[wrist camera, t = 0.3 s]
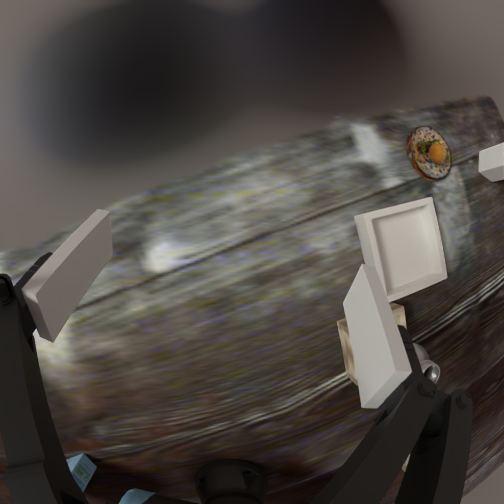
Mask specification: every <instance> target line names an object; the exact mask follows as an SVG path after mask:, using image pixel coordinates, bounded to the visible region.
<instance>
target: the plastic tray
mask: <svg viewBox="0 0 504 504" xmlns="http://www.w3.org/2000/svg"><path fill="white" fill-rule="evenodd" d="M354 219H355V223H356V227H357V231H358V235H359V239H360V243H361V248H362V252H363V257H364V261H365V265H370V266H374V267H375V268H376V271H377V273H378V276H379V278H380V281H381V283H382V286H383V288H384V291H385V293H386V296H387V299H388V301H389V302H392V301H394V300H397V299H399V298H402V297H404V296H407V295H409V294H412V293H414V292H417V291H419V290H421V289H424V288H426V287H428V286H431V285H433V284H435V283H437V282H440V281H442V280H444V279H446V278H447V271H446V264H445V258H444V252H443V246H442V241H441V236H440V231H439V226H438V221H437V217H436V213H435V208H434V204H433V200H432V197H429V198H425V199H420V200H416V201H412V202H408V203H404V204H400V205H396V206H392V207H388V208H384V209H380V210H376V211H372V212H369V213H365V214H361V215H357V216H354Z"/></svg>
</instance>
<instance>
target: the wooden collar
mask: <svg viewBox="0 0 504 504" xmlns="http://www.w3.org/2000/svg"><path fill="white" fill-rule="evenodd" d="M389 304H390V307H391V310H392V312H393V315H394V318H395V321H396V324H397V325H403V326H404V327H405V328H406V320H405V312H404V306H402V305H399V304H395V303H392V302H389ZM337 325H338V330H339V335H340V340H341V345H342V350H343V356H344V361H345V367H346V373H347V376H348V377H349V378H350V379H351V380H352V381H353V382H354V383H355V384H356V385H358V380H357V374H356V368H355V362H354V356H353V351H352V345H351V340H350V335H349V330H348V325H347V320H346V318H345V319H342V320H339V321H337ZM406 329H407V328H406Z"/></svg>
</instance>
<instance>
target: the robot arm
mask: <svg viewBox="0 0 504 504" xmlns="http://www.w3.org/2000/svg"><path fill="white" fill-rule="evenodd" d="M112 256H113V252H112V238H111V220H110V211H104V210H99V209H98V210H97V211H95V212H94V213H93V214H92V215H91V216H90V217H89V218H88V219H87V220H86V221H85V222H84V223H83V224H82V225H81V226H80V227H79V228H78V229H77V230H76V231H75V232H74V233H73V234H72V235H71V236H70V237H69V238H68V239H67V240H66V241H65V242H64V243H63V244H62V245H61V246H60V247H59V248H58V249H57V250H56V251H55V252H54V253H50V252H49V253H47V254H45V255H43V256H42V257H40V258H39V259H38V260H37V261H36V262H35V263H34V266H32V267H31V268H30V269H29V271H27V272H26V273H25V274H24V275H23V277H22V278H21V279H20V280H19V281H18V282H17V283H16V285H15V286H14V287H13V284H12V281H11V278H10V277H9V276H8V275H7V274H0V431H1V435H2V440H3V444H4V448H5V452H6V456H7V460H8V467H7V468H6V469H5V478H6V482H7V485H8V488H9V491H10V494H11V497H12V500H13V503H14V504H89V503H88V501H87V499H86V497H85V495H84V493H83V492H82V490H81V488H80V487H79V485H78V484H77V483H76V481H75V479H74V478H73V476H72V473H71V471H70V468H69V466H68V463H67V461H66V458H65V456H64V453H63V450H62V447H61V445H60V442H59V439H58V436H57V433H56V430H55V427H54V423H53V420H52V417H51V413H50V410H49V406H48V402H47V398H46V394H45V390H44V386H43V382H42V377H41V373H40V368H39V363H38V357H37V352H36V346H35V339H34V336H33V332H34V331H35V329H36V328H37V331H38V333H39V335H40V337H41V338H44V339H46V340H48V341H51V342H54V341H55V339H56V337H57V336H58V334H59V333H60V331H61V329H62V328H63V326H64V325H65V323H66V322H67V320H68V318H69V317H70V315H71V314H72V312H73V311H74V309H75V308H76V306H77V305H78V303H79V302H80V300H81V299H82V297H83V296H84V295H85V293H86V292H87V290H88V289H89V287H90V286H91V284H92V283H93V282H94V280H95V279H96V277H97V276H98V275H99V273H100V272H101V271H102V269H103V268H104V266H105V265H106V264H107V262H108V261H109V260H110V258H111V257H112ZM343 306H344V310H345V315H346V320H347V325H348V330H349V335H350V340H351V345H352V351H353V356H354V362H355V368H356V374H357V380H358V386H359V392H360V399H361V406H362V408H378V407H379V406H380V405H381V404H382V403H383V402H385V407H386V409H385V410H384V411H383V412H382V413H380V414H379V415H378V416H377V417H376V418H375V419H374V421H376V422H375V423H374V425H373V426H372V427H371V429H370V430H369V432H368V433H367V434H366V436H365V437H364V439H363V440H362V441H361V443H360V444H359V445H358V447H357V448H356V449H355V451H354V452H353V453H352V454H351V456H350V457H349V458H348V459H347V461H346V462H345V463H344V464H343V466H342V467H341V468H340V469H339V470H338V472H337V473H336V474H335V475H334V476H333V478H332V479H331V480H330V481H329V482H328V483H327V484H326V486H325V487H324V488H323V489H322V490H321V491H320V492H319V493H318V494H317V495H316V496H315V498H314V499H313V500H312V501H311V502H310V503H309V504H379V503H380V501H381V500H382V498H383V497H384V495H385V494H386V492H387V491H388V489H389V488H390V486H391V485H392V483H393V482H394V480H395V478H396V477H397V475H398V473H399V472H400V470H401V468H402V467H403V465H404V463H405V462H406V460H407V458H408V456H409V454H410V457H409V460H408V464H407V467H406V471H405V474H404V477H403V480H402V483H401V486H400V489H399V492H398V495H397V498H396V501H395V503H394V504H460V502H461V498H462V493H463V488H464V483H465V477H466V471H467V465H468V458H469V450H470V441H471V430H472V416H473V402H472V399H471V397H470V395H469V394H468V393H467V392H466V391H464V390H462V389H456V390H455V391H454V392H453V393H452V394H450V395H449V394H446V393H443V392H440V391H438V390H437V387H436V385H435V384H434V382H433V381H432V380H431V379H429V378H427V377H424V374H423V371H422V368H421V365H420V362H419V359H418V356H417V353H416V352H415V347H414V345H413V341H412V339H411V336H410V333H409V332H408V331H407V329H406V328H405V327H404V326H403V325H397V324H396V321H395V318H394V315H393V312H392V310H391V307H390V304H389V301H388V299H387V296H386V293H385V291H384V288H383V286H382V283H381V281H380V278H379V276H378V273H377V271H376V268H375V267H374V266H370V265H365V264H362V265H361V267H360V269H359V271H358V273H357V276H356V278H355V280H354V282H353V284H352V286H351V288H350V290H349V292H348V294H347V296H346V298H345V300H344V302H343ZM267 489H268V483H267V479H266V475H265V473H264V472H263V471H262V470H261V469H260V468H259V467H258V466H256V465H254V464H252V463H249V462H246V461H242V460H221V461H216V462H213V463H211V464H208V465H207V466H205V467H204V468H202V469H201V470H200V472H199V473H198V475H197V478H196V491H197V493H198V496H199V498H200V500H201V503H202V504H263V503H264V499H265V496H266V493H267ZM106 504H107V503H106ZM119 504H198V503H193V502H189V501H184V500H180V499H175V498H171V497H167V496H163V495H160V494H157V493H156V492H148V491H144V490H141V489H131V490H129V491H127V492H126V493H125V495H124V496H123V497H122V499H121V501H120V503H119Z"/></svg>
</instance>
